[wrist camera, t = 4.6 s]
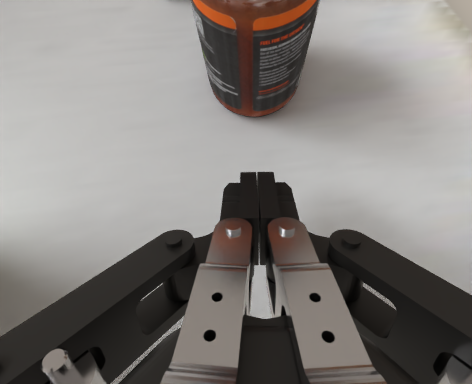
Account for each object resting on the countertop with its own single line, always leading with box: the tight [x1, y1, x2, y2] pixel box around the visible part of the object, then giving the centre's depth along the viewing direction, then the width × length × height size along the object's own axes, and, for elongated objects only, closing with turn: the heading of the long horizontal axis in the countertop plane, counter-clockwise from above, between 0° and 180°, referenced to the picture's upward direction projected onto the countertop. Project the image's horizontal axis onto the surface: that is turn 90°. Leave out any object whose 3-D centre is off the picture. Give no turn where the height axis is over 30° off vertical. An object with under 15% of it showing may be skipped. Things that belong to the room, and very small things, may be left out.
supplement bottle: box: [191, 0, 320, 117], centre depth 14 cm, size 6×6×11 cm
